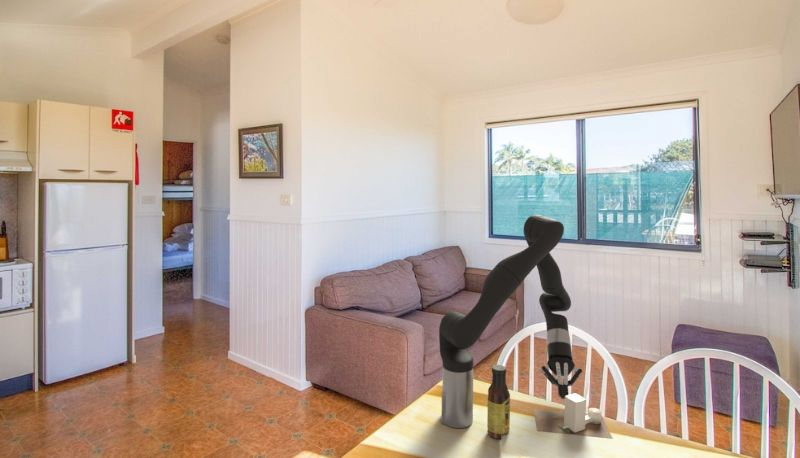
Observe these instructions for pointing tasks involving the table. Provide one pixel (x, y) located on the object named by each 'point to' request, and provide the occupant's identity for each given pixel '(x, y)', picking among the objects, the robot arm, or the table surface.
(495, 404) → the sauce bottle
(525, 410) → the table surface
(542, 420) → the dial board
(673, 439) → the table surface
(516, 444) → the table surface
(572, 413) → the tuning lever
